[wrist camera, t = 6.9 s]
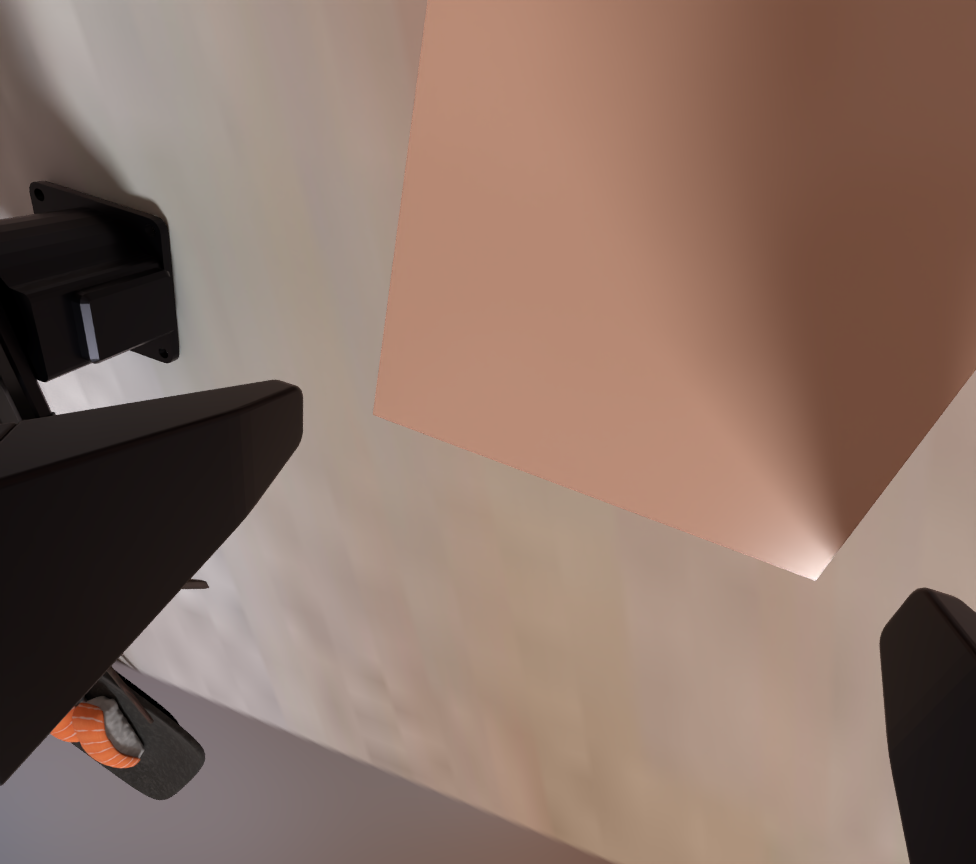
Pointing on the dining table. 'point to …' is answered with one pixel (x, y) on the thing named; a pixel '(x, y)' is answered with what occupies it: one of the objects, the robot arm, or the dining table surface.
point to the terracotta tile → (690, 253)
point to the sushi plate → (133, 734)
